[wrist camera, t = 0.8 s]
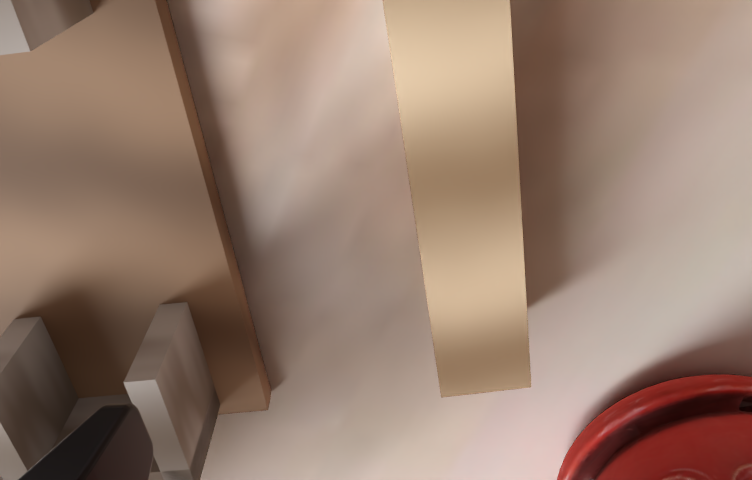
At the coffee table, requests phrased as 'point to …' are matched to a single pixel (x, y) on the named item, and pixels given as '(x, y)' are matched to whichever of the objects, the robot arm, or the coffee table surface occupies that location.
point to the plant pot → (670, 434)
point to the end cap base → (112, 239)
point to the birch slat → (464, 185)
